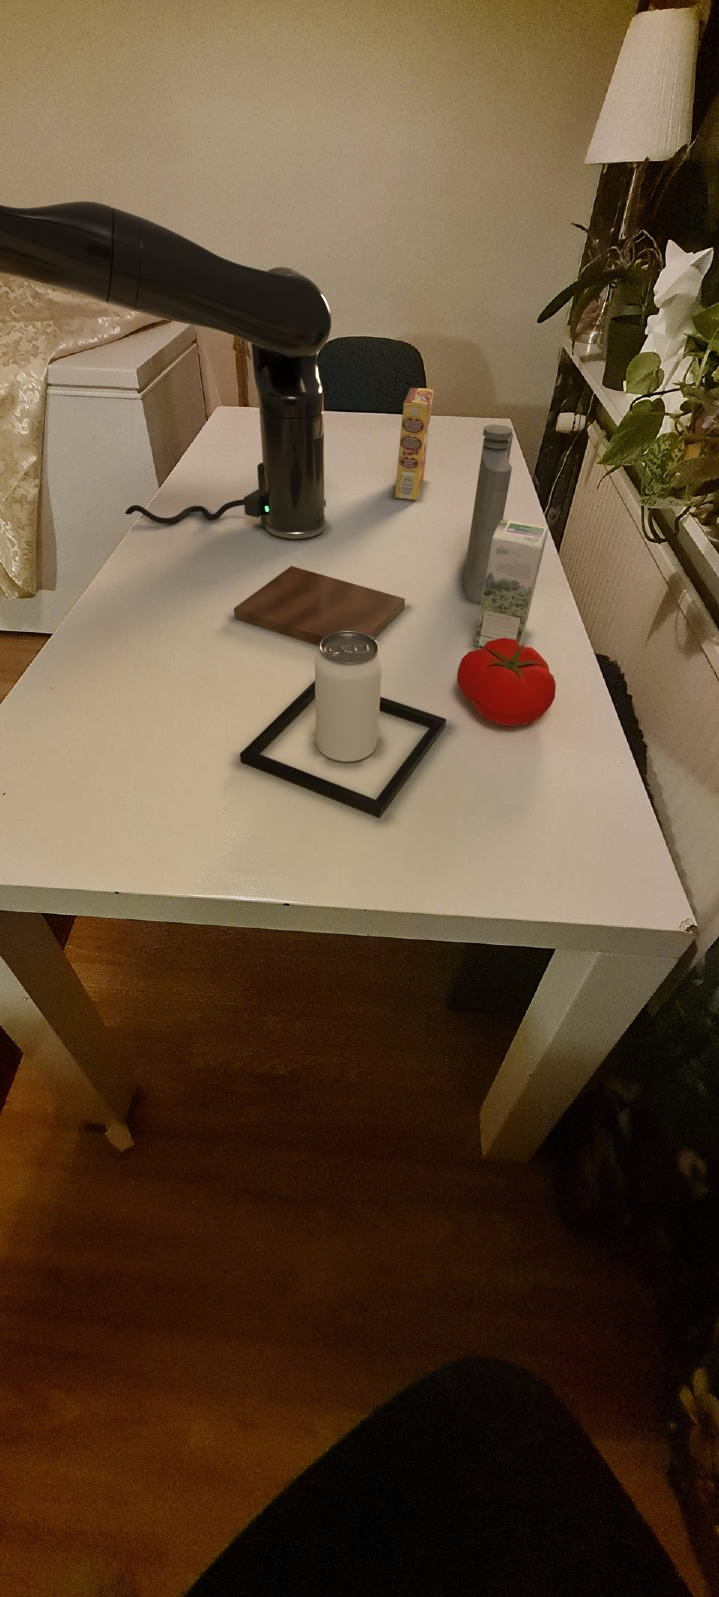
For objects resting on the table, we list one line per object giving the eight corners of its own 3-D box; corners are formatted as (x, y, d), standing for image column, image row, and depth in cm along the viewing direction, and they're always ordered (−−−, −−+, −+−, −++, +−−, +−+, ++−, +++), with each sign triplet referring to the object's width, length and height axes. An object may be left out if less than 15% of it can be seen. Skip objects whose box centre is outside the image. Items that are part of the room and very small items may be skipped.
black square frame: (240, 762, 72) (239, 753, 71) (319, 683, 83) (319, 675, 82) (379, 818, 67) (380, 809, 66) (445, 727, 77) (446, 718, 77)
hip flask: (488, 604, 97) (515, 450, 83) (459, 600, 98) (481, 447, 84) (492, 553, 109) (516, 410, 95) (465, 550, 109) (486, 407, 95)
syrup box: (525, 633, 92) (550, 523, 82) (517, 657, 88) (542, 544, 78) (482, 624, 93) (501, 515, 83) (472, 647, 89) (491, 535, 79)
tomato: (489, 743, 76) (500, 693, 71) (441, 687, 83) (448, 639, 78) (565, 723, 79) (580, 674, 74) (512, 671, 86) (522, 623, 81)
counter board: (234, 618, 92) (233, 608, 91) (291, 575, 101) (291, 565, 100) (355, 657, 87) (355, 647, 86) (404, 608, 96) (405, 598, 95)
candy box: (418, 501, 122) (427, 403, 111) (394, 498, 123) (400, 401, 112) (425, 482, 128) (434, 388, 118) (401, 480, 129) (408, 386, 118)
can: (314, 725, 77) (313, 628, 68) (373, 724, 77) (379, 627, 69) (317, 765, 72) (315, 666, 64) (380, 763, 73) (386, 665, 64)
